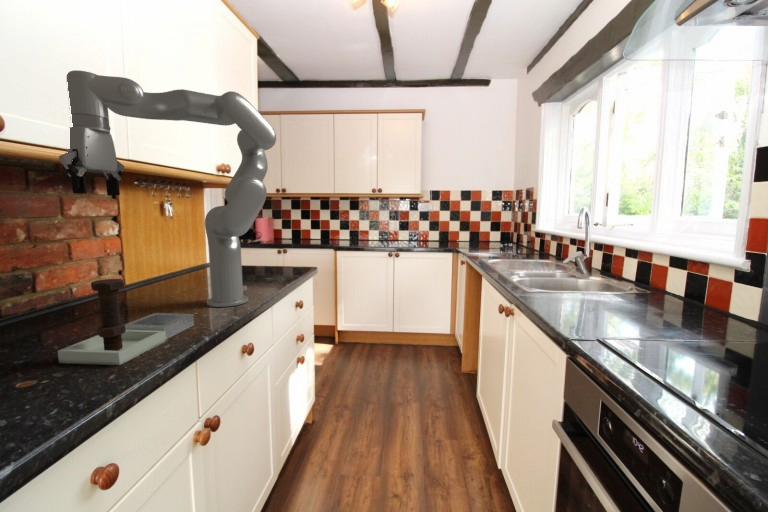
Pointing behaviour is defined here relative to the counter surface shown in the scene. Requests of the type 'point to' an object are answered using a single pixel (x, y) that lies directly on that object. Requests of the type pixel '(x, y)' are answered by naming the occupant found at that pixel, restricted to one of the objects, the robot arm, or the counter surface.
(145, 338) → the tray
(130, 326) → the grey notched slab
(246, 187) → the robot arm
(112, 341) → the bolt
